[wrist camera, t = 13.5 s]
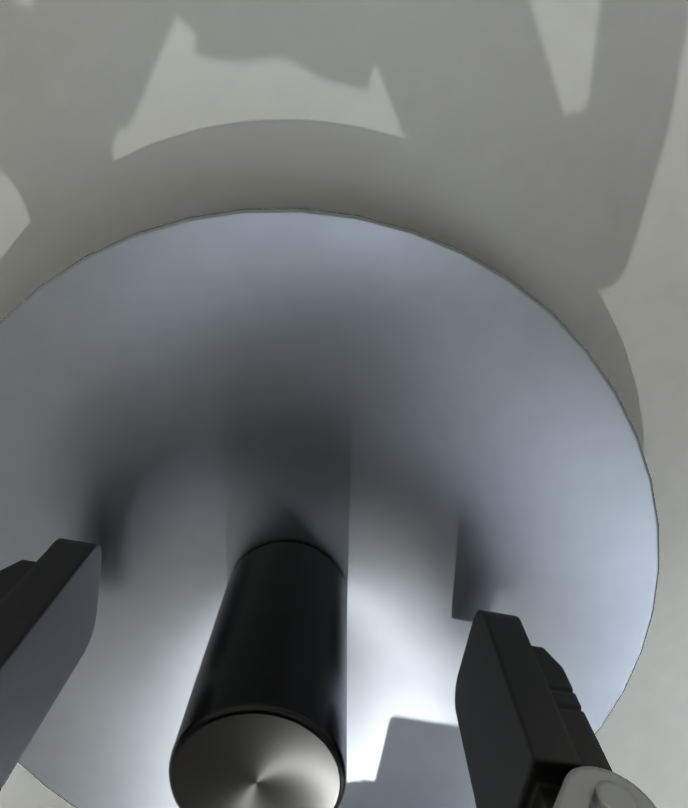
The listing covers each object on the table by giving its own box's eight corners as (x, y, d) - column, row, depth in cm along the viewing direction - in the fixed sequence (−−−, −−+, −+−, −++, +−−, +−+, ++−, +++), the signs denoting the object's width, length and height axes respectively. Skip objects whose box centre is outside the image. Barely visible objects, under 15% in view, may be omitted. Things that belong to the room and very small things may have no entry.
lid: (735, 289, 12) (1042, 346, 7) (531, 866, 16) (624, 1191, 11) (-43, 137, 12) (-386, 66, 6) (-55, 777, 16) (-271, 1076, 10)
